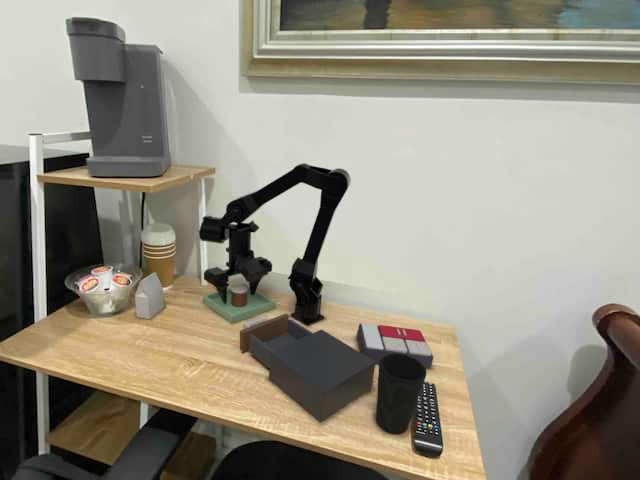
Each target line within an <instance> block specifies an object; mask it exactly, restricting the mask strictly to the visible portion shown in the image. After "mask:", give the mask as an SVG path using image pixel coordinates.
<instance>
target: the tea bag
mask: <svg viewBox="0 0 640 480" xmlns="http://www.w3.org/2000/svg"><path fill="white" fill-rule="evenodd" d="M134 300H135V301H134V303H135V312H136V313H135V314H136V317H137V318H140V319H141V318H142V319H147V320H150V319H152V318H153V317H155V315H157V314H158V313H159V312H160V311H161V310H163V309H164V308H165V304H164V303H165V302H164V301H165V300H164V287H163V285H162V283H161V281H160V279H159V277H158V274H157V271H154V272H152V273H151V274H149V275H148V276H146V277H145V278H143V279H141V280H140V281H139V283H138V287H137V289H136V292H135V295H134Z"/></svg>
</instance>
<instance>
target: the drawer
mask: <svg viewBox="0 0 640 480" xmlns="http://www.w3.org/2000/svg"><path fill="white" fill-rule="evenodd" d="M242 328H243V329H240V330H239V350H240V351H241V352H245V351H247V350H248V353H249V354H250V355H252V356H253V357H254V358H255V359H256V360H258V361H259V362H261V363H262V364H263V365H264V366H265V367H267V368H268V369H269V368H270V352H272V351H274V350H276V349H279V348H281V347H283V346H285V345H288V344H290V343H292V342H294V341H297V340H299V339H301V338H303V337H306V336H308V335H310V334H312V333H313V332H312V331H311V330H309V329H307V328H306V327H304V326H303V325H301V324H299V323H298V322H297V321H294V320H293V319H290V315H289V313H283V314H281V315H278V316H276V317H272V318H270V319H267V318H266V317H265V316H261V317H258V318H255V319H253V320H250V321H247V322H245V323H242Z"/></svg>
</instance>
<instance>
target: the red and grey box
mask: <svg viewBox="0 0 640 480" xmlns="http://www.w3.org/2000/svg"><path fill="white" fill-rule="evenodd" d="M356 338H357V343H358V350H359V352H360V353H362V354H364V355H365V356H367V357H369V358H370V359H372V360H374V361H375V362H376V364H375V365H379V361H380V359H381V358H382V357H383V356H385V355H387V354H393V353H396V354H404V355H407V356H410V357H412V358H415V359H416V360H418V361H419V362H420V363H421V364H423V366H424V367H425V369H429V370H430V369H432V365H433V361H434V356H433V353H432V351H431V349H430V347H429V345H428V342H427V341H426V339H425V337H424V335H423V333H422V331H421V330H420V329H415V328H407V327H399V326H391V325H386V324H385V325H383V324H378V325H377V324H371V323H359V324H358V329H357V334H356Z"/></svg>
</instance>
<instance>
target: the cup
mask: <svg viewBox="0 0 640 480" xmlns="http://www.w3.org/2000/svg"><path fill="white" fill-rule="evenodd" d="M427 372H428V371H427V368H425V367H424V366H423V364H421V363H420V362H419V361H418V360H416V359H415V358H412V357H410V356H407V355H404V354H396V353H393V354H387V355H385V356H383V357H382V358H381V359H380V361H379V364H378V376H377V393H376V409H375V410H376V411H375V422H376V425H377V426H378V427H379V428H380V429H381V430H382V431H383V432H385V433H388V434H390V435H402V434H404V433H406V432H407V431H408V429H409V426H410V424H411V423H410V422H411V420H412V417H413V414H414V411H415V409H416V406H417V403H418V400H419V397H420V394H421V391H422V389H423V385H424V383H425V381H426V378H427Z"/></svg>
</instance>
